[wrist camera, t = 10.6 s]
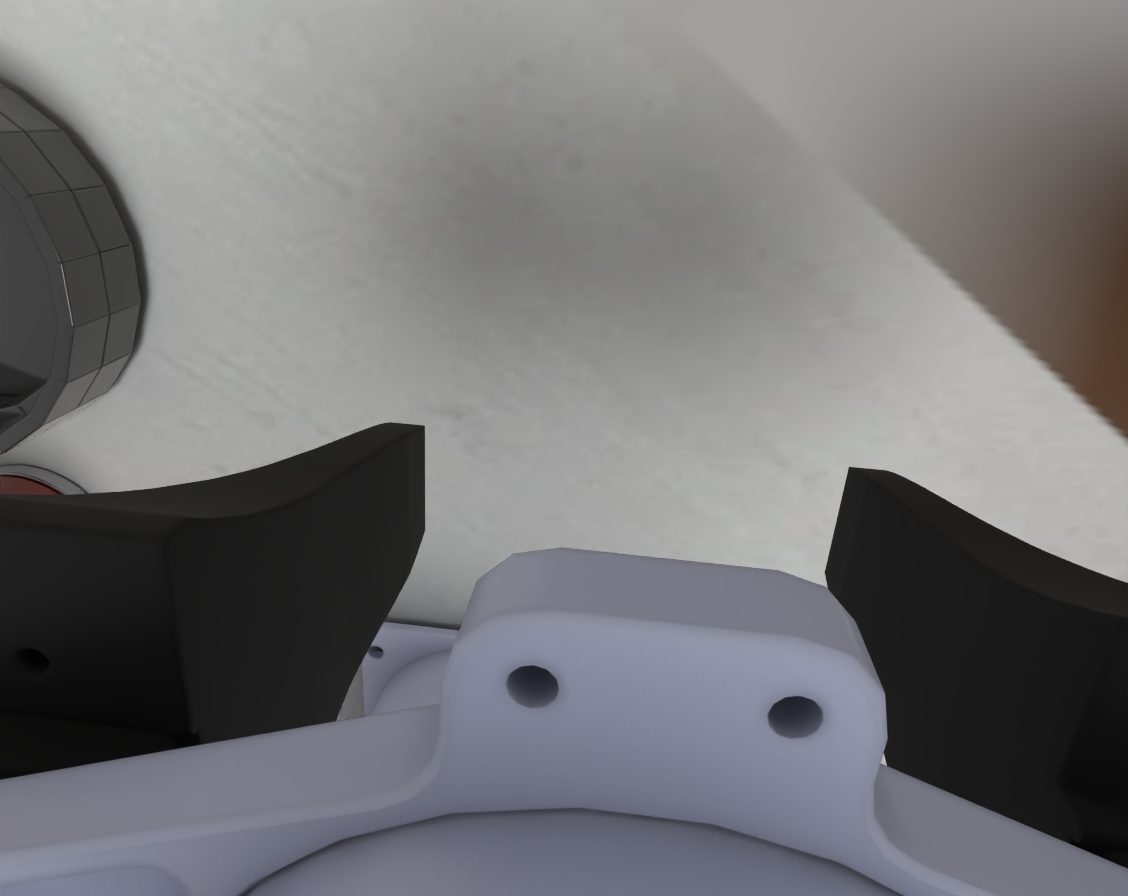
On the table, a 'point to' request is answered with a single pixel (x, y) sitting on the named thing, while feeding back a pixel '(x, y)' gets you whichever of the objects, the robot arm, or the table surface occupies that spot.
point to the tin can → (34, 482)
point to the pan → (57, 278)
